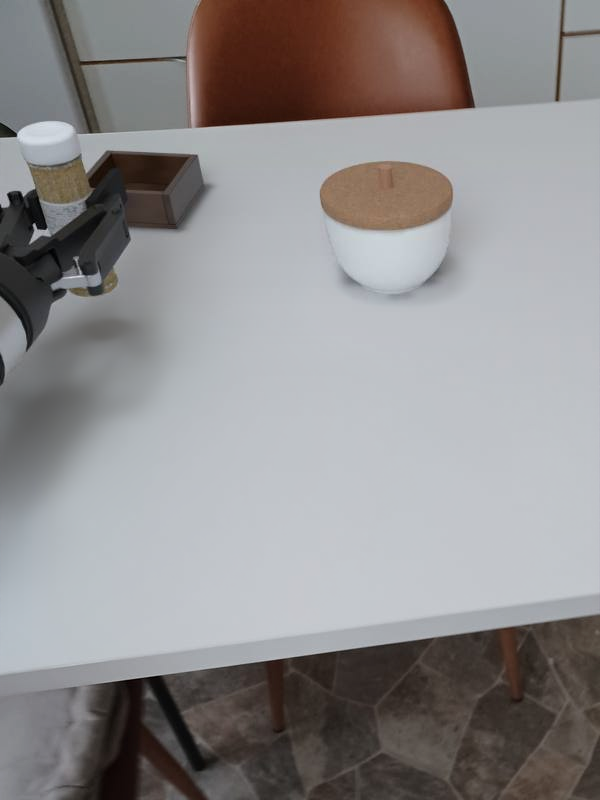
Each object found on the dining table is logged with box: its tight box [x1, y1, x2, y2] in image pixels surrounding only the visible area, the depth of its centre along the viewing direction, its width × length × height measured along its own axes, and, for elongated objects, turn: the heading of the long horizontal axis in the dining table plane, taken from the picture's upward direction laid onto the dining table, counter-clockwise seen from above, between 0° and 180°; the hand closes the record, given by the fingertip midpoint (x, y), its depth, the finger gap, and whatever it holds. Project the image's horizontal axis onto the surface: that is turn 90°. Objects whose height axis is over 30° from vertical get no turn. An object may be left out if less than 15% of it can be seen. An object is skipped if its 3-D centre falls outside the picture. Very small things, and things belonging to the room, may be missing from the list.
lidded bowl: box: [319, 160, 454, 295], centre depth 93 cm, size 13×13×11 cm
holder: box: [86, 149, 205, 230], centre depth 106 cm, size 11×11×4 cm
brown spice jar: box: [16, 120, 119, 298], centre depth 82 cm, size 5×5×14 cm
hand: (92, 183), depth 85 cm, fingers closed on brown spice jar, 4 cm apart
